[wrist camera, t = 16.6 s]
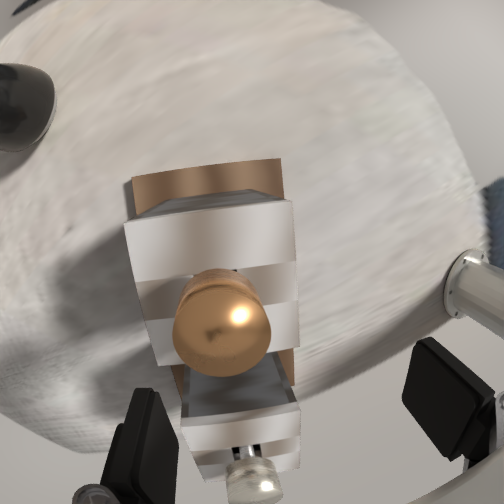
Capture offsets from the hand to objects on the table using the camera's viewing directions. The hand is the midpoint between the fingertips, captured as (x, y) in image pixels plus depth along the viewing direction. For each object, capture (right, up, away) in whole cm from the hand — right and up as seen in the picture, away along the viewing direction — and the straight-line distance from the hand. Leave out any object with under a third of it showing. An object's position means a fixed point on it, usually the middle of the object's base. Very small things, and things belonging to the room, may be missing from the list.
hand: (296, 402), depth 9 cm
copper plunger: (-6, +7, +22) cm, 23 cm away
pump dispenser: (-28, +22, +17) cm, 40 cm away
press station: (-5, 0, +26) cm, 26 cm away
